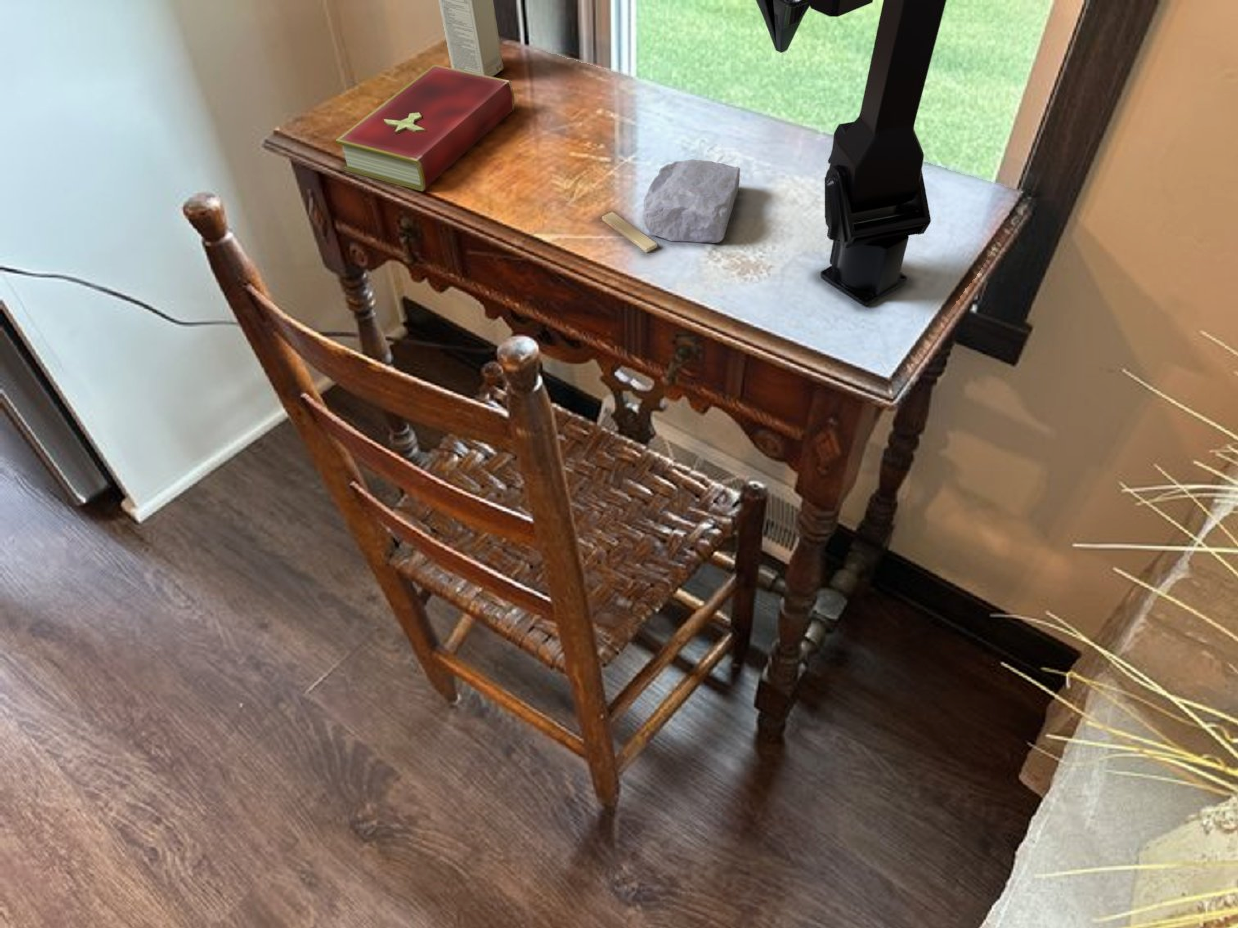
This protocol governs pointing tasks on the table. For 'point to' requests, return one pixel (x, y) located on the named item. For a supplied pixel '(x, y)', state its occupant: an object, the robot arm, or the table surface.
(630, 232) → the maple strip
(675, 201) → the stone block
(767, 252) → the table surface
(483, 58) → the cosmetic box
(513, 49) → the table surface
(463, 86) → the hardcover book
